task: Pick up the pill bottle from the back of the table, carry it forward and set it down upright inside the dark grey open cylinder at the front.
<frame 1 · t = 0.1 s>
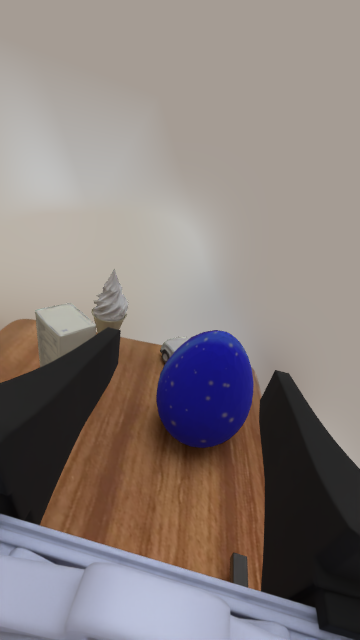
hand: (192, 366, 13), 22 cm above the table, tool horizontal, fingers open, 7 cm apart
toy car: (189, 375, 46), on the table
ornament: (192, 431, 36), on the table
cosmetic box: (66, 397, 37), on the table
ice cream cone: (105, 356, 46), on the table
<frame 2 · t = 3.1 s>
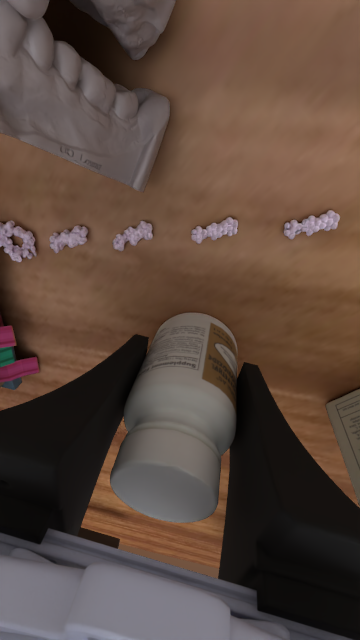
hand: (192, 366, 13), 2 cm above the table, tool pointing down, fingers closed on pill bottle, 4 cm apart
pill bottle: (196, 343, 15), on the table, touching gripper
pink molecule models: (149, 231, 12), on the table
when the fingers open (4 cm above the table, at t = 13.5 s): pill bottle drops 1 cm, resting on dark grey open cylinder.
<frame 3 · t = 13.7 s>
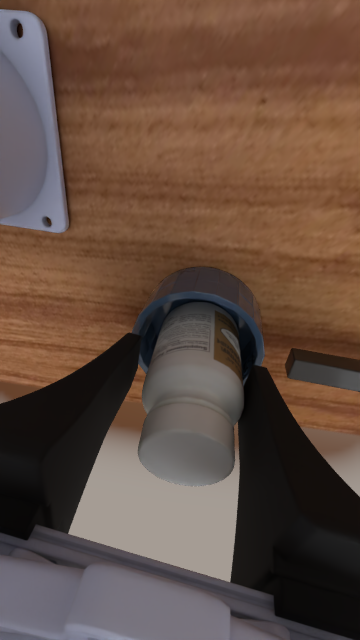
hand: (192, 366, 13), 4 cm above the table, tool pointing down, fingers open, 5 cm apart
pill bottle: (200, 330, 16), resting on dark grey open cylinder, touching gripper
dark grey open cylinder: (202, 319, 16), on the table
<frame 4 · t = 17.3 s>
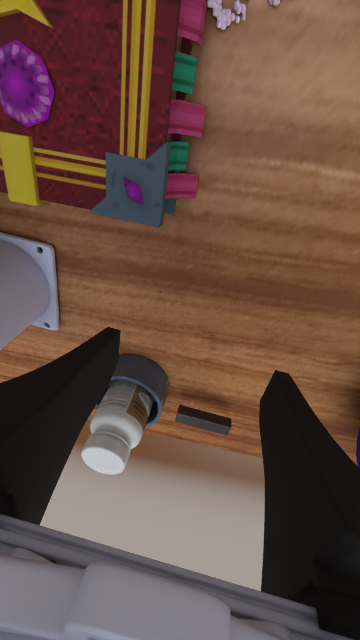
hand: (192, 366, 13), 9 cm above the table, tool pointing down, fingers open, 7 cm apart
pill bottle: (135, 385, 28), resting on dark grey open cylinder
decorative book: (70, 84, 16), on the table, touching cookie
dark grey open cylinder: (136, 380, 28), on the table
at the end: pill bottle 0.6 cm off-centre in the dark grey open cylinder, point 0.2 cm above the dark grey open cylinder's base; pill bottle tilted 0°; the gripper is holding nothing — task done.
